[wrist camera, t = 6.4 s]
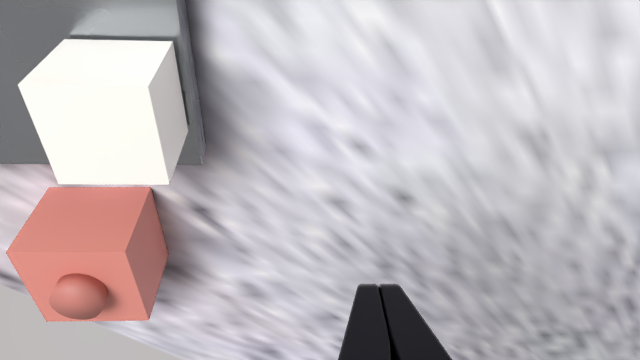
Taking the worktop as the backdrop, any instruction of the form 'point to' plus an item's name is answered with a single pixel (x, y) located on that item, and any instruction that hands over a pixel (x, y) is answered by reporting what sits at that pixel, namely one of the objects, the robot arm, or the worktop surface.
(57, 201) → the cap
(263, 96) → the worktop surface
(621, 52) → the worktop surface
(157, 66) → the matte white cube
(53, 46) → the strip
